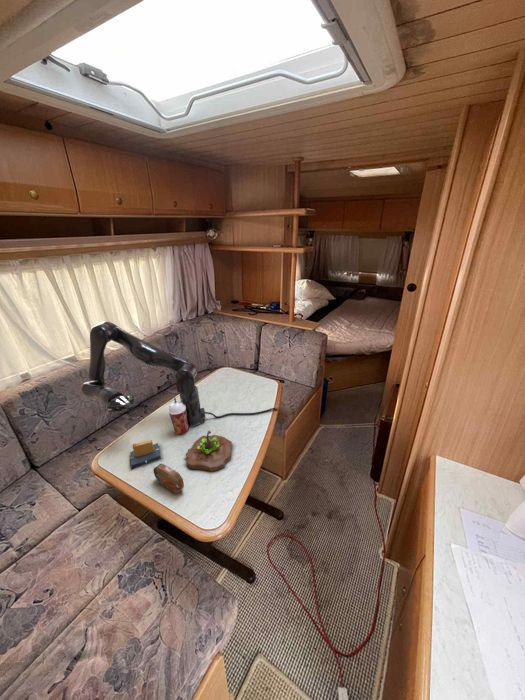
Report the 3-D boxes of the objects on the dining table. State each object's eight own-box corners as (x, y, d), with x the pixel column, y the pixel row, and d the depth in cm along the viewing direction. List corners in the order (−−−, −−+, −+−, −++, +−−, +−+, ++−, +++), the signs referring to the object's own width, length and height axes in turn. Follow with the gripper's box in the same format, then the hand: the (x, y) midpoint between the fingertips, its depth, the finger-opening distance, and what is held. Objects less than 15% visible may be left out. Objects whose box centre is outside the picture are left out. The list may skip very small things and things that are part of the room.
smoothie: (193, 426, 141) (187, 394, 133) (184, 437, 134) (176, 404, 126) (179, 423, 144) (172, 392, 136) (169, 434, 137) (161, 401, 129)
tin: (154, 480, 112) (150, 464, 108) (161, 474, 114) (157, 459, 111) (180, 496, 104) (177, 480, 101) (186, 490, 107) (183, 474, 103)
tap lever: (154, 449, 124) (151, 439, 122) (154, 452, 123) (151, 441, 121) (135, 454, 122) (132, 444, 120) (135, 457, 121) (132, 446, 118)
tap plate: (158, 444, 131) (157, 440, 130) (161, 461, 121) (160, 457, 120) (130, 452, 126) (129, 449, 125) (132, 471, 116) (130, 468, 115)
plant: (237, 441, 131) (236, 422, 126) (224, 474, 113) (221, 453, 109) (198, 436, 135) (196, 417, 130) (180, 467, 117) (176, 447, 113)
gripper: (94, 397, 123) (115, 409, 114) (122, 384, 133) (143, 394, 124) (99, 410, 126) (120, 423, 117) (125, 397, 136) (147, 408, 127)
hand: (132, 408), depth 121 cm, fingers closed
